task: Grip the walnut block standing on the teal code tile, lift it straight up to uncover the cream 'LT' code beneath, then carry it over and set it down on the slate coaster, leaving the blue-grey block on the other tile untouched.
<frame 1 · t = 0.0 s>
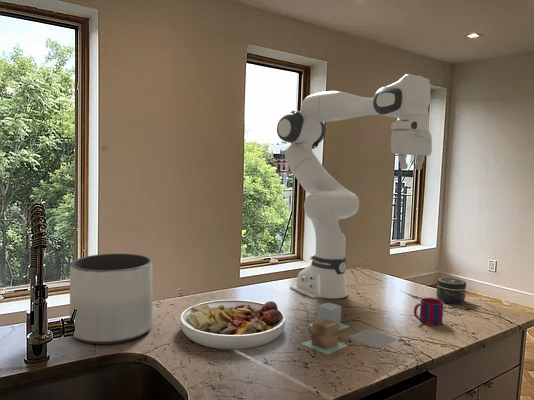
hand: (411, 169, 144), 48 cm above the worktop, fingers open, 8 cm apart
code tile B: (328, 327, 135), on the worktop
walnut block: (324, 344, 121), point 1 cm above the worktop, touching code tile A
mug: (426, 322, 143), on the worktop
slate coaster: (372, 340, 127), on the worktop
jar: (450, 301, 167), on the worktop
planter: (112, 331, 128), on the worktop
bowl: (232, 333, 130), on the worktop
blue-grey block: (328, 325, 135), point 1 cm above the worktop, touching code tile B
code tile A: (324, 346, 121), on the worktop
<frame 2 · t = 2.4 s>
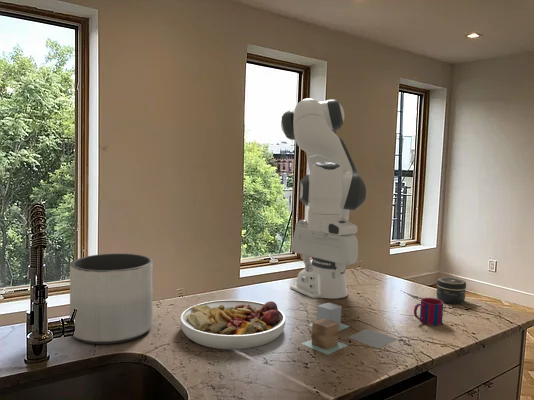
hand: (322, 275, 120), 19 cm above the worktop, fingers open, 8 cm apart
nothing on the worktop moved.
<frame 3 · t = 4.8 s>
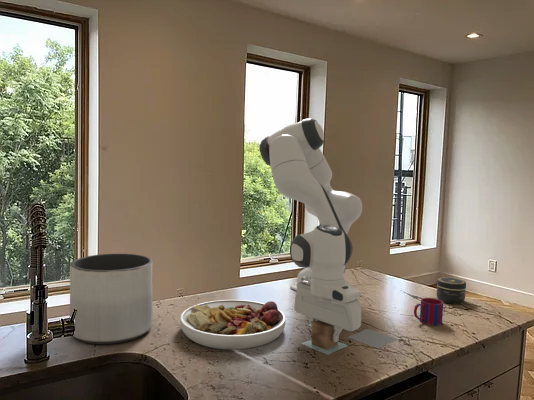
hand: (324, 337, 121), 3 cm above the worktop, fingers closed on walnut block, 5 cm apart
walnut block: (324, 344, 121), point 1 cm above the worktop, touching code tile A, gripper
everything else where it was.
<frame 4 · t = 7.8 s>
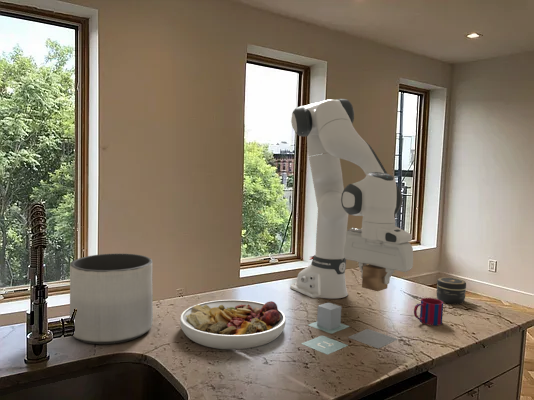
hand: (375, 281, 125), 17 cm above the worktop, fingers closed on walnut block, 5 cm apart
walnut block: (374, 287, 125), point 15 cm above the worktop, touching gripper
everything else where it was.
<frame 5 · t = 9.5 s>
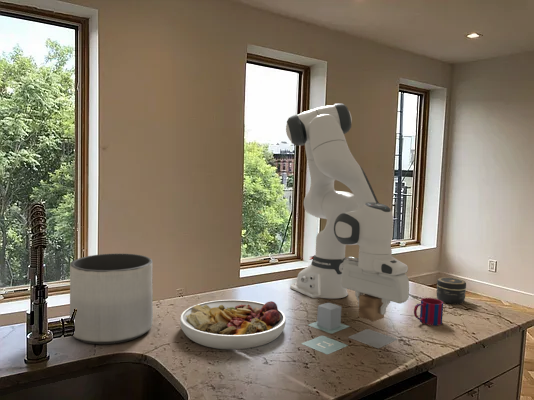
hand: (371, 310, 126), 9 cm above the worktop, fingers closed on walnut block, 5 cm apart
walnut block: (371, 317, 126), point 7 cm above the worktop, touching gripper
everything else where it was.
when the fingers open (4 cm above the worktop, at t = 10.9 s): walnut block drops 1 cm, resting on slate coaster.
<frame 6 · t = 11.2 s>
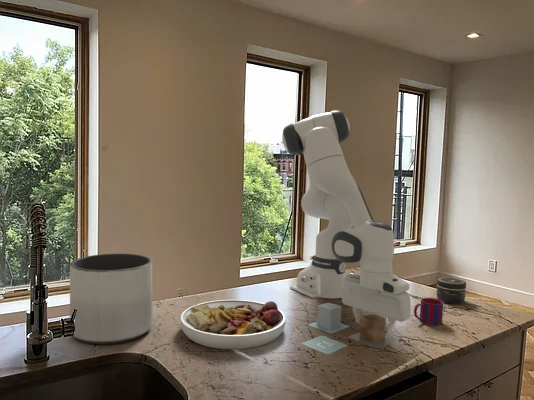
hand: (373, 327, 127), 4 cm above the worktop, fingers open, 8 cm apart
walnut block: (372, 338, 127), point 1 cm above the worktop, touching slate coaster
everything else where it was.
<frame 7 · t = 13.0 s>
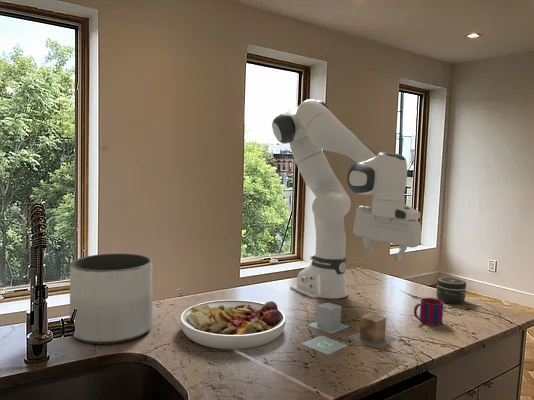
hand: (383, 256, 131), 23 cm above the worktop, fingers open, 8 cm apart
nothing on the worktop moved.
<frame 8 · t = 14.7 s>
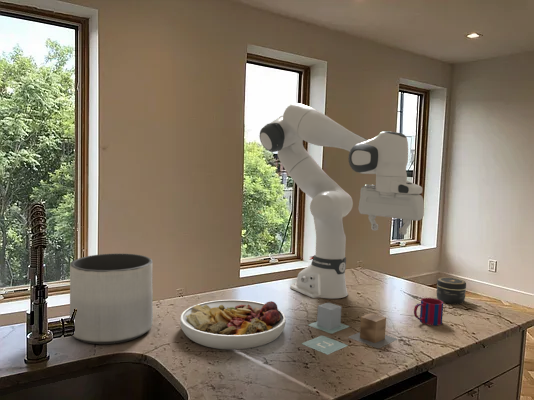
hand: (388, 232, 135), 29 cm above the worktop, fingers open, 8 cm apart
nothing on the worktop moved.
at the end: walnut block inside the target area on the slate coaster (0.1 cm from its centre), point 0.6 cm above the slate coaster's base; walnut block tilted 0°; the gripper is holding nothing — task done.
